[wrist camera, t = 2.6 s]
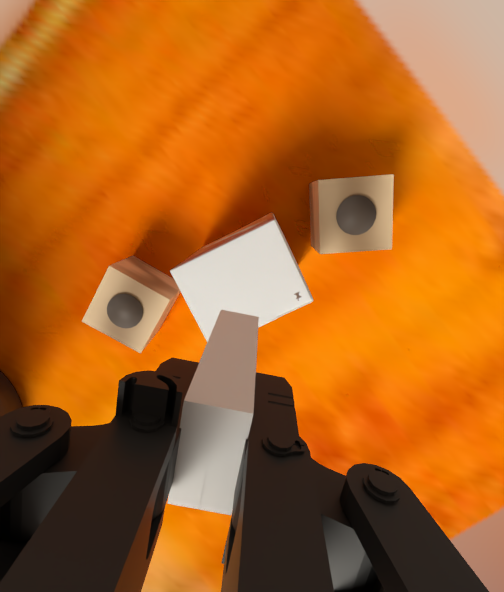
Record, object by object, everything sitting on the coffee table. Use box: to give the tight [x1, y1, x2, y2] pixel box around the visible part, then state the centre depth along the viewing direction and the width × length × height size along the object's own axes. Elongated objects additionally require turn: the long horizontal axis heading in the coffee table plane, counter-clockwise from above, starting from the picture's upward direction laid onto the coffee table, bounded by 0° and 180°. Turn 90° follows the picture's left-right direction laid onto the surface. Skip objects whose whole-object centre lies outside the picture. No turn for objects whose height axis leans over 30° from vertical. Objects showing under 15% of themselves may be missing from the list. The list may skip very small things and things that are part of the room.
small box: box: [170, 212, 313, 342], centre depth 30 cm, size 8×6×13 cm
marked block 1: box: [82, 256, 181, 353], centre depth 35 cm, size 6×6×6 cm
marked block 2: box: [309, 174, 394, 254], centre depth 32 cm, size 6×6×6 cm
